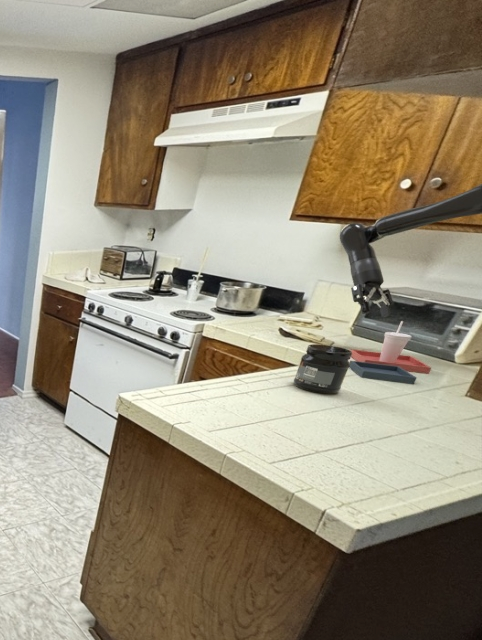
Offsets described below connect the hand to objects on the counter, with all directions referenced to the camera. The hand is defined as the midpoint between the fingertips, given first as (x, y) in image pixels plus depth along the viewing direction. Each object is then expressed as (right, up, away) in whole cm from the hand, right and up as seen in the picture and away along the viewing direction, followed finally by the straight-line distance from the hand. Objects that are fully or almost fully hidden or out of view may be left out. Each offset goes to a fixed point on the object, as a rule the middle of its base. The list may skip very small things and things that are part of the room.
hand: (376, 314), depth 165 cm
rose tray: (-2, -18, -5) cm, 19 cm away
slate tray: (-16, -22, -16) cm, 32 cm away
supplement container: (-48, -26, -29) cm, 61 cm away
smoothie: (-2, -17, -5) cm, 18 cm away
